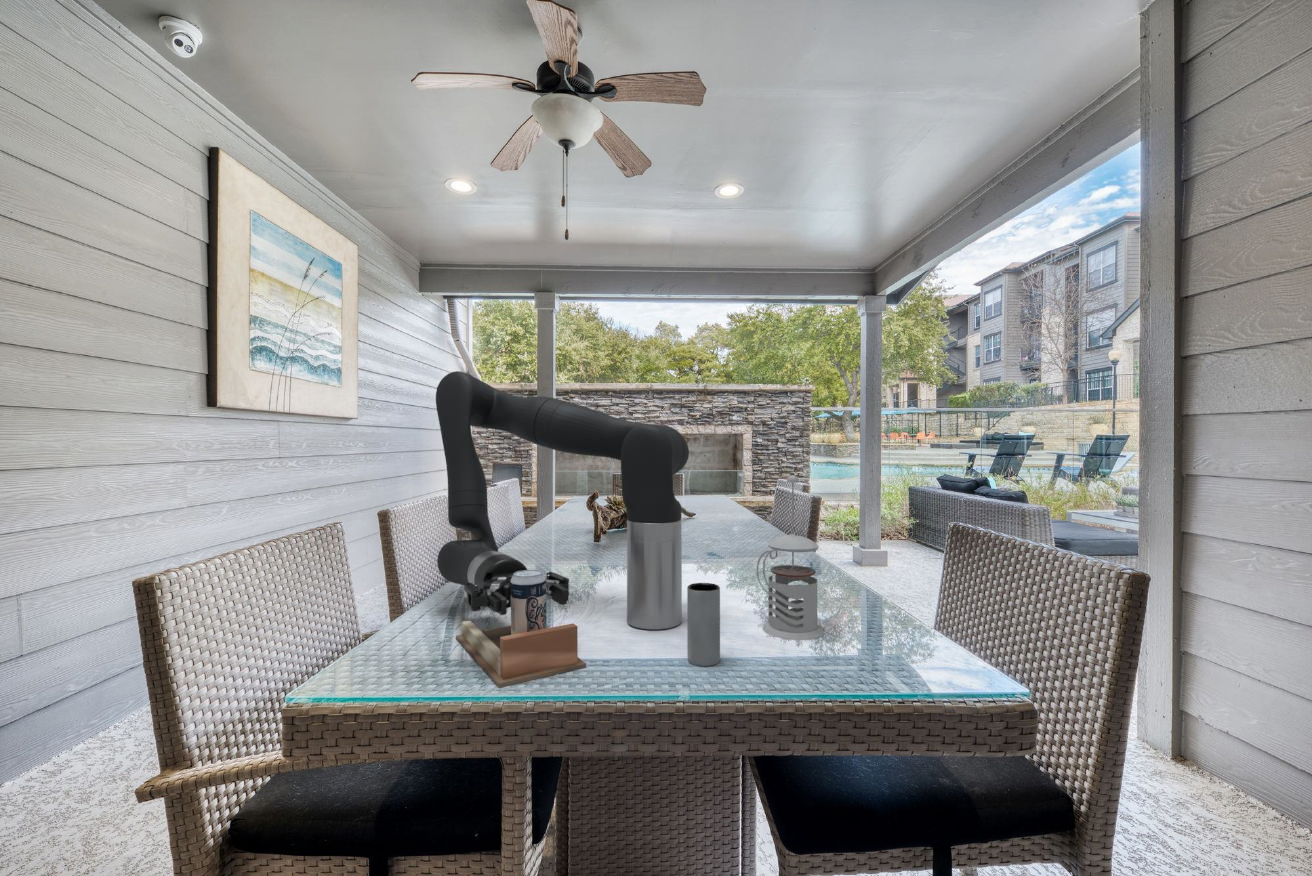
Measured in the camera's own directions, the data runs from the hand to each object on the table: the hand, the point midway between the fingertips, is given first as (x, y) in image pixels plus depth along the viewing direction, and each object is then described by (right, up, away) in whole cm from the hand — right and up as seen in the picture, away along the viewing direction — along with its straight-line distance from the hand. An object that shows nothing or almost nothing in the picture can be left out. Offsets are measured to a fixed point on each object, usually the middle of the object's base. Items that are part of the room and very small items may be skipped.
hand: (535, 602), depth 79 cm
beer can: (-1, -9, +2) cm, 9 cm away
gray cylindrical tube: (+23, -9, +3) cm, 25 cm away
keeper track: (-4, -9, +6) cm, 11 cm away
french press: (+38, -9, +17) cm, 42 cm away
